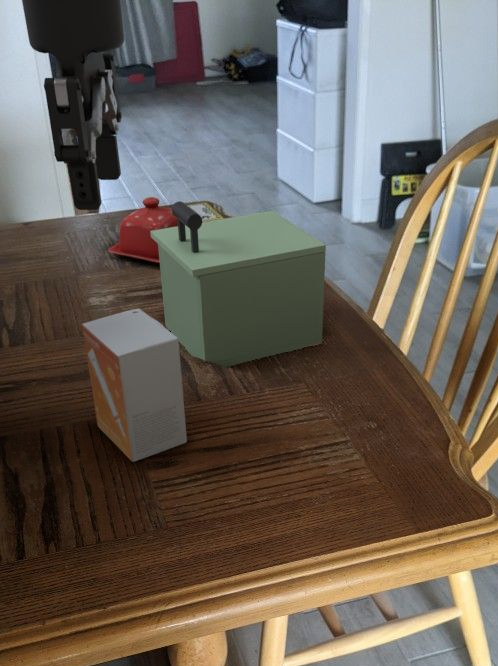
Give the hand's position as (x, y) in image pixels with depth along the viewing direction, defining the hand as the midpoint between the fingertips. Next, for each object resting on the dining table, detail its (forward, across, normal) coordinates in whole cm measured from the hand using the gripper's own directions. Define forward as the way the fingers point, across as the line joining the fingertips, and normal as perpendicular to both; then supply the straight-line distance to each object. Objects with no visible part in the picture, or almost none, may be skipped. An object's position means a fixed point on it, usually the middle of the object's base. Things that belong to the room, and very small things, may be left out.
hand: (99, 193), depth 70 cm
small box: (+24, +5, +2) cm, 25 cm away
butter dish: (+24, -48, -5) cm, 54 cm away
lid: (+12, -20, +10) cm, 26 cm away
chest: (+24, -20, +10) cm, 33 cm away
